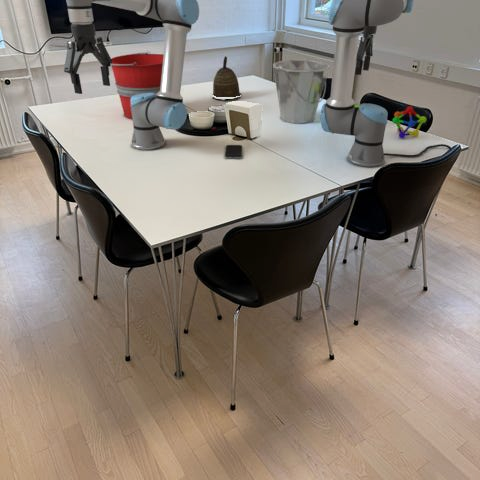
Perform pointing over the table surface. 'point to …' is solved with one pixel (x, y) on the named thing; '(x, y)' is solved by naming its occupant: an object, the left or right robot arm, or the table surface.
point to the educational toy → (410, 123)
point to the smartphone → (233, 151)
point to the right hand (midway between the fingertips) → (361, 72)
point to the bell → (225, 82)
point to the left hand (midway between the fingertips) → (93, 89)
